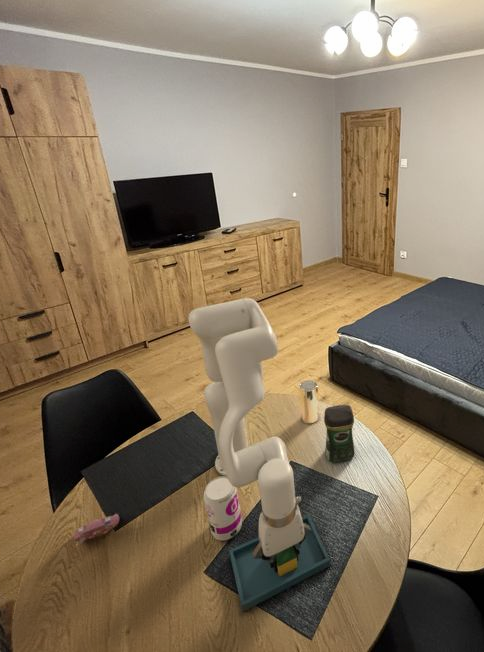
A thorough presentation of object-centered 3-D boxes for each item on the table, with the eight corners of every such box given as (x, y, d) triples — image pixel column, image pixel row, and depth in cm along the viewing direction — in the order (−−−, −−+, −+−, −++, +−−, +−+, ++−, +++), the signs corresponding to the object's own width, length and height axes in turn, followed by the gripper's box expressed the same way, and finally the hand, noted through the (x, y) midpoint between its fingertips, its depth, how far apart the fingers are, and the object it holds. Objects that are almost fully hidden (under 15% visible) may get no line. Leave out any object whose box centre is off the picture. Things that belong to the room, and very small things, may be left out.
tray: (230, 556, 93) (229, 550, 92) (309, 519, 102) (308, 514, 101) (242, 612, 82) (241, 606, 81) (330, 565, 90) (330, 559, 89)
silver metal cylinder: (316, 425, 136) (315, 392, 130) (298, 423, 137) (296, 390, 131) (321, 413, 142) (320, 380, 136) (304, 411, 144) (302, 378, 138)
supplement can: (248, 518, 102) (242, 479, 96) (230, 546, 95) (223, 505, 89) (223, 509, 105) (215, 471, 99) (204, 536, 98) (195, 496, 92)
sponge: (270, 550, 93) (269, 538, 91) (287, 541, 95) (286, 530, 93) (279, 576, 87) (278, 564, 86) (297, 567, 89) (296, 555, 87)
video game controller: (79, 548, 97) (70, 542, 92) (78, 529, 99) (70, 523, 94) (121, 531, 101) (115, 525, 96) (120, 513, 103) (114, 507, 98)
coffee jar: (351, 443, 128) (351, 399, 120) (356, 460, 121) (356, 415, 113) (323, 447, 126) (322, 403, 119) (327, 465, 119) (326, 420, 112)
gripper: (307, 482, 90) (310, 532, 97) (238, 512, 83) (247, 563, 90) (320, 507, 84) (322, 558, 91) (246, 541, 77) (255, 594, 84)
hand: (284, 560), depth 90 cm, fingers closed on sponge, 4 cm apart
